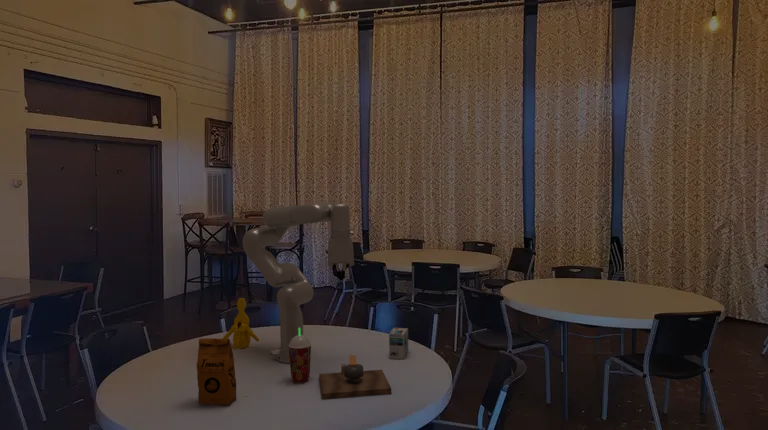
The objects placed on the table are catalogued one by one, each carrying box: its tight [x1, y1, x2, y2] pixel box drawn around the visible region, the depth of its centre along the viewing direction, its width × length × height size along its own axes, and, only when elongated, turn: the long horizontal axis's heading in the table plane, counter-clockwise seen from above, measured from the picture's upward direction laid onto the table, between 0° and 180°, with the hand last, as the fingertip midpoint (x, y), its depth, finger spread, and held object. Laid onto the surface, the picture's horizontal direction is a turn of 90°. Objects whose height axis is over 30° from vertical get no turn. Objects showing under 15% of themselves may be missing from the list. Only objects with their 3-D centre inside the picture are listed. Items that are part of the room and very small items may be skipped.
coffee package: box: [196, 337, 237, 406], centre depth 185 cm, size 10×12×22 cm
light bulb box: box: [388, 327, 409, 360], centre depth 234 cm, size 11×7×11 cm, turn 168°
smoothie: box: [288, 328, 312, 384], centre depth 205 cm, size 8×8×20 cm
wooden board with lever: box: [318, 363, 392, 400], centre depth 199 cm, size 24×21×5 cm
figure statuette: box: [221, 297, 260, 350], centre depth 250 cm, size 18×8×22 cm, turn 89°
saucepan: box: [344, 354, 364, 379], centre depth 203 cm, size 16×7×4 cm, turn 5°
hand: (341, 280), depth 218 cm, fingers closed
